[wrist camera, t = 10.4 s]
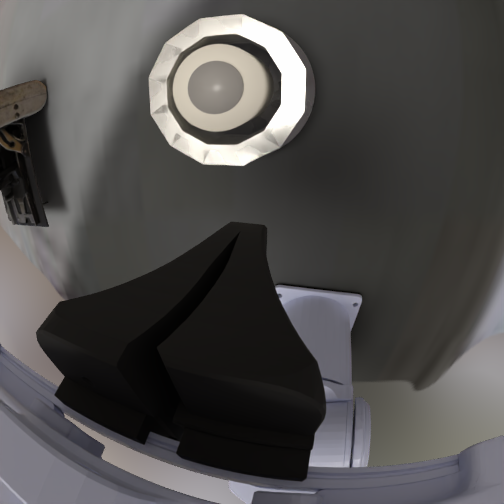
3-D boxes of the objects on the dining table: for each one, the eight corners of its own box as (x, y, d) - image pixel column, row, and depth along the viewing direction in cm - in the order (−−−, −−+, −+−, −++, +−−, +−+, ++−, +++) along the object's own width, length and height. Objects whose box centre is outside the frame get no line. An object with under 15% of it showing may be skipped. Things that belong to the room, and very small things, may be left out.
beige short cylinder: (273, 123, 17) (262, 133, 13) (201, 122, 17) (173, 133, 14) (274, 51, 14) (263, 40, 10) (199, 55, 15) (169, 49, 11)
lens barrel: (311, 161, 18) (310, 180, 15) (176, 155, 20) (149, 172, 16) (316, 23, 12) (316, 6, 9) (171, 31, 14) (140, 24, 11)
